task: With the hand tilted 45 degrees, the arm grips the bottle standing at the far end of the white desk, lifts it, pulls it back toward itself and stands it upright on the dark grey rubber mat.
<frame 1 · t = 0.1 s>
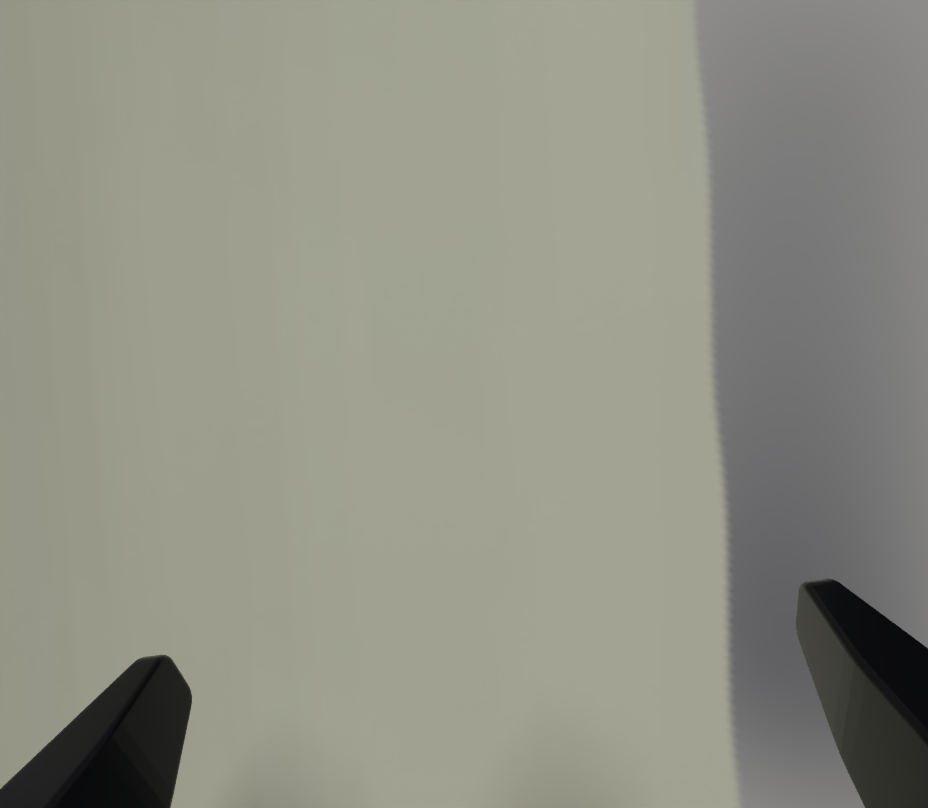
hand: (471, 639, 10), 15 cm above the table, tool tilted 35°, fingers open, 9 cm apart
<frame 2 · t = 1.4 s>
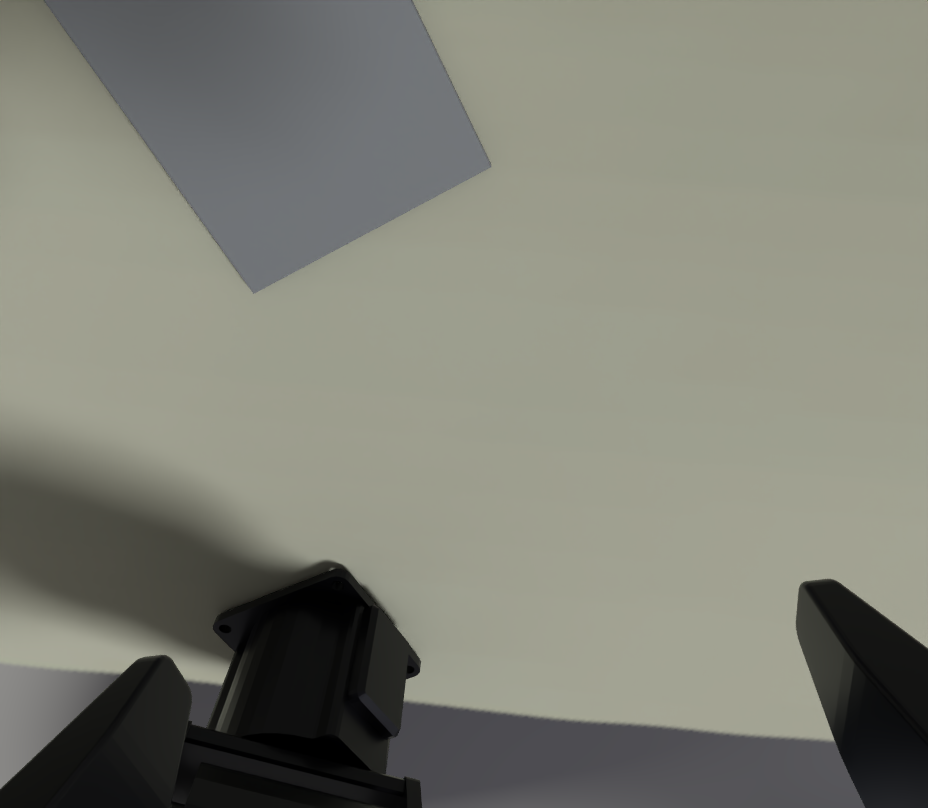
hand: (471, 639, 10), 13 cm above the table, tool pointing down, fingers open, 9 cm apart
mat: (243, 19, 17), on the table
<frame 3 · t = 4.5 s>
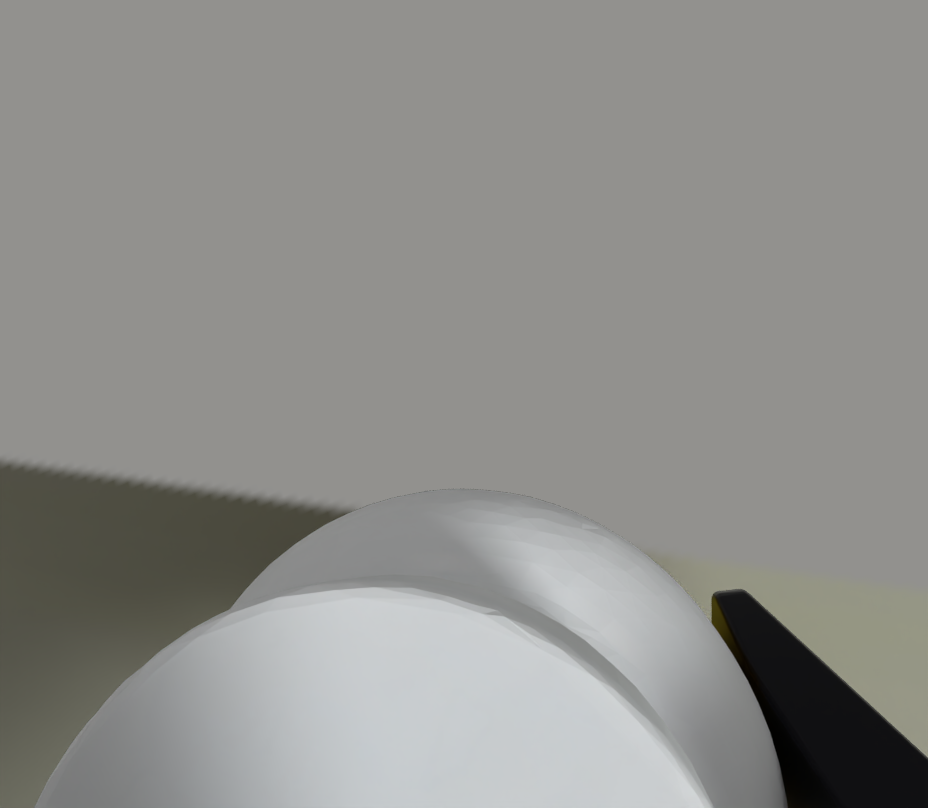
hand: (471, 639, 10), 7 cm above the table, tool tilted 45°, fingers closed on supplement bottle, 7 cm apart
supplement bottle: (522, 667, 16), on the table, touching gripper
when the fingers open (8 cm above the table, at t = 8.0 s): supplement bottle stays where it is, resting on mat.
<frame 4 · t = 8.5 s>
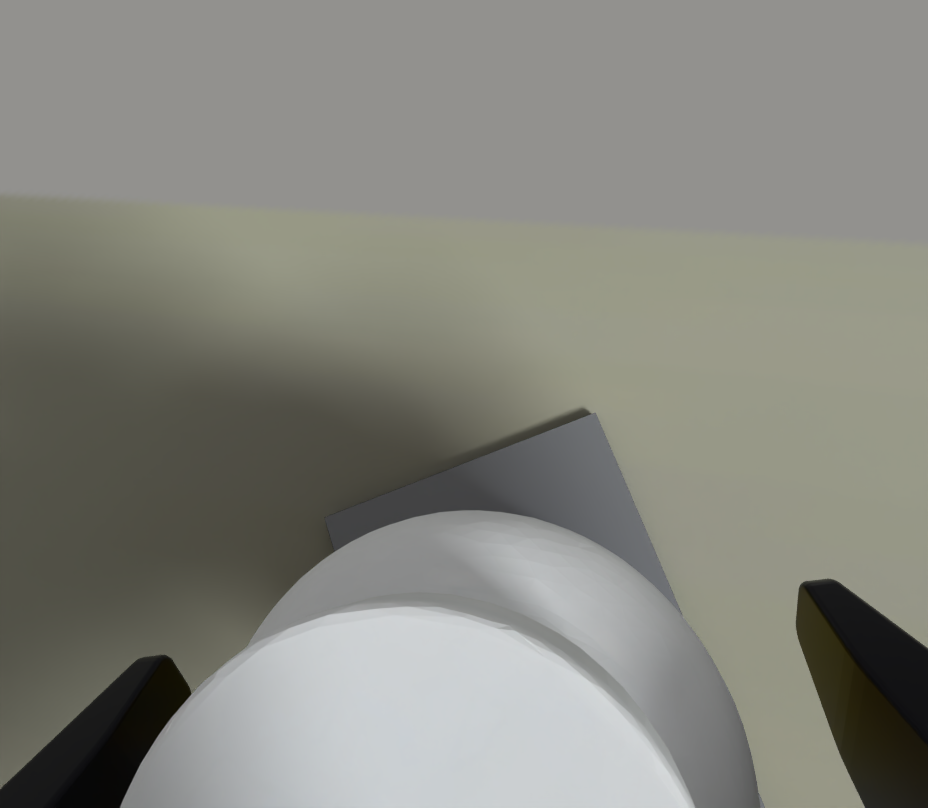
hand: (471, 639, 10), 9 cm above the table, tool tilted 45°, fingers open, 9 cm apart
supplement bottle: (523, 667, 17), resting on mat
mat: (538, 685, 17), on the table
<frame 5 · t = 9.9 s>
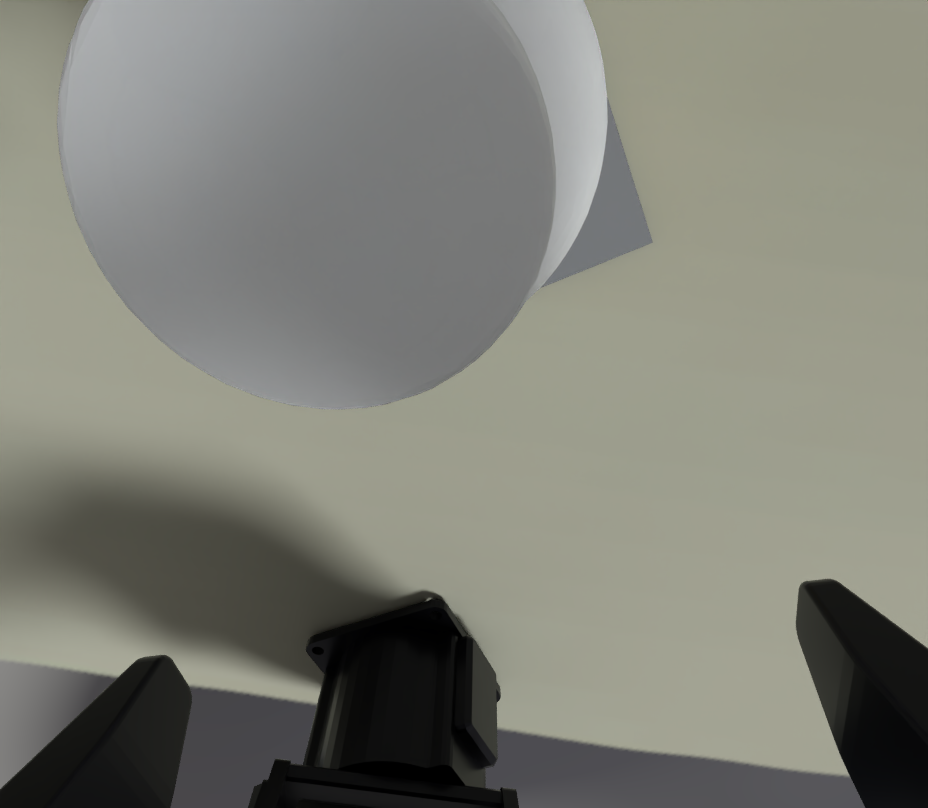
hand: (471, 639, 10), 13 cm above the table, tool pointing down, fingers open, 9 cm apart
supplement bottle: (423, 77, 18), resting on mat
mat: (439, 94, 18), on the table
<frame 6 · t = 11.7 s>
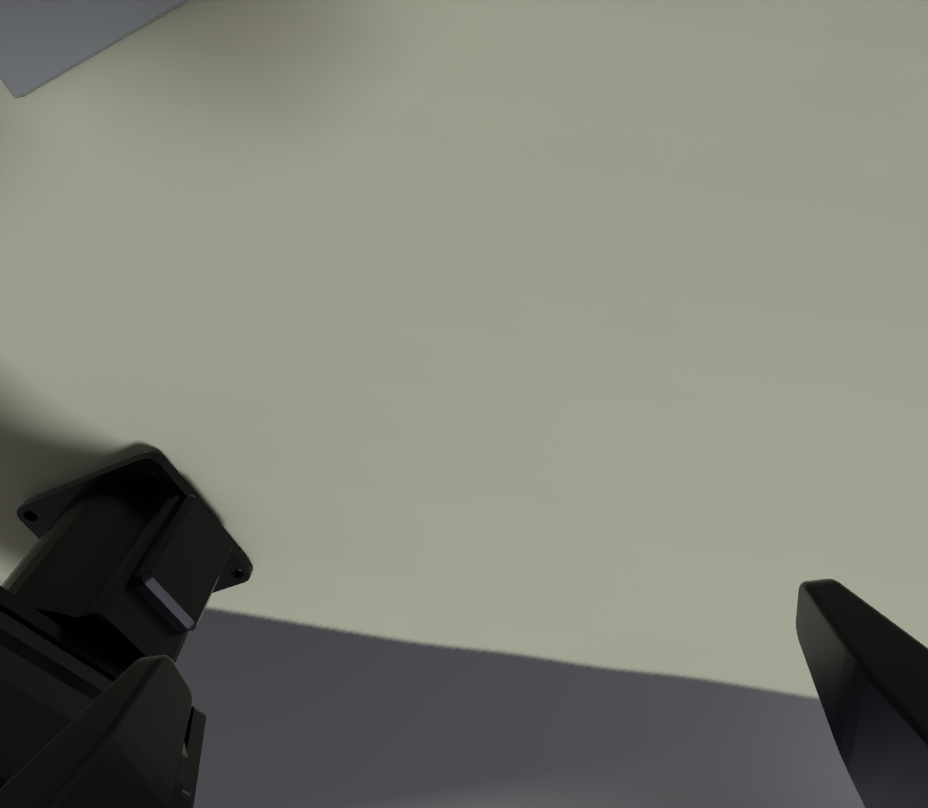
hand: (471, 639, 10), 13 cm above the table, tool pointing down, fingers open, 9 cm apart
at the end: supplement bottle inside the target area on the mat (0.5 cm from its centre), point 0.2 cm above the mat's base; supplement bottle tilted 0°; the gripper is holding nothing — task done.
